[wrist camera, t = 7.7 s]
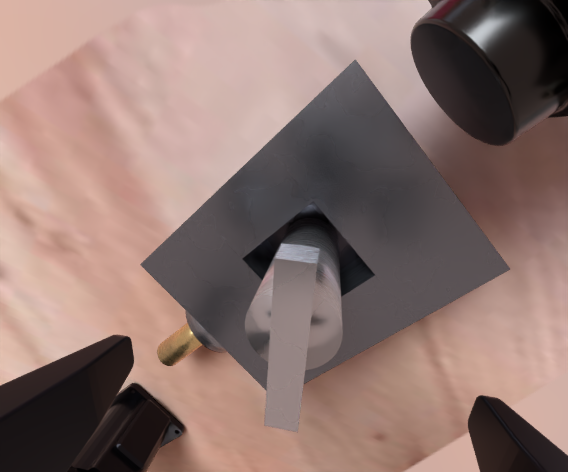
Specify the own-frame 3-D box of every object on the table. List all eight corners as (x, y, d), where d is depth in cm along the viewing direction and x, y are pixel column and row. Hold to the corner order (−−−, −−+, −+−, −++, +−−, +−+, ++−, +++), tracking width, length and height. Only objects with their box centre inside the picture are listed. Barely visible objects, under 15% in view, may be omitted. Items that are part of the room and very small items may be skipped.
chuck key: (331, 293, 18) (330, 438, 9) (280, 286, 18) (233, 419, 10) (345, 196, 16) (359, 269, 7) (287, 190, 16) (235, 253, 8)
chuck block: (232, 377, 24) (208, 436, 19) (134, 281, 22) (81, 320, 17) (461, 233, 17) (510, 269, 13) (348, 81, 16) (355, 59, 11)
